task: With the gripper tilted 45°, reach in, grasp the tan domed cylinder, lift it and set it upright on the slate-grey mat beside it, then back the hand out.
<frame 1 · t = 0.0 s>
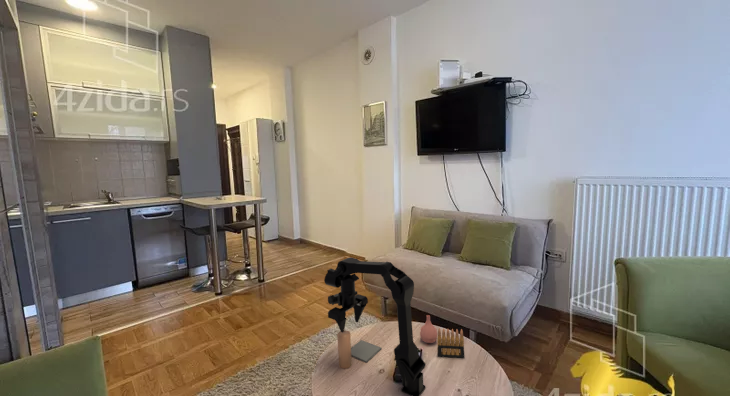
hand: (349, 327, 121), 15 cm above the table, tool pointing down, fingers open, 9 cm apart
tan domed cylinder: (345, 364, 121), on the table
ammunition clip: (450, 356, 123), on the table
pink bottle vase: (428, 341, 135), on the table
slate mat: (363, 351, 129), on the table
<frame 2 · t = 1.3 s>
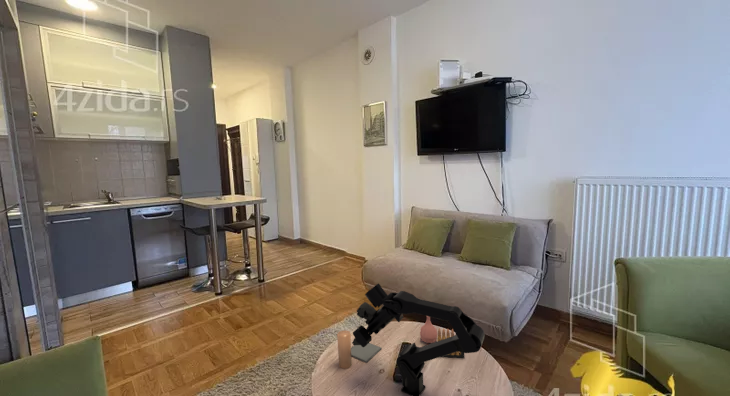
hand: (359, 337, 116), 13 cm above the table, tool tilted 45°, fingers open, 9 cm apart
nothing on the table moved.
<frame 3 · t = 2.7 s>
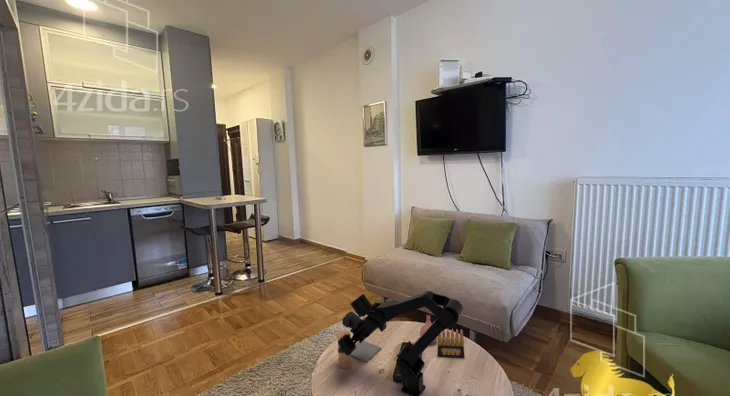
hand: (345, 345, 120), 8 cm above the table, tool tilted 45°, fingers open, 9 cm apart
nothing on the table moved.
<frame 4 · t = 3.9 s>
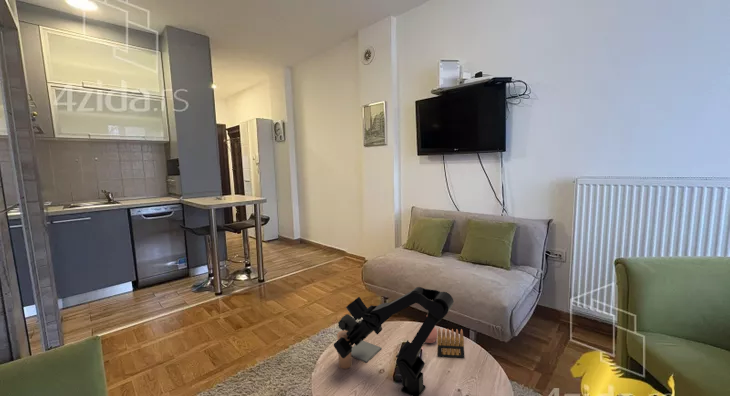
hand: (341, 348, 121), 7 cm above the table, tool tilted 45°, fingers closed on tan domed cylinder, 5 cm apart
tan domed cylinder: (345, 364, 121), on the table, touching gripper
everything else where it was.
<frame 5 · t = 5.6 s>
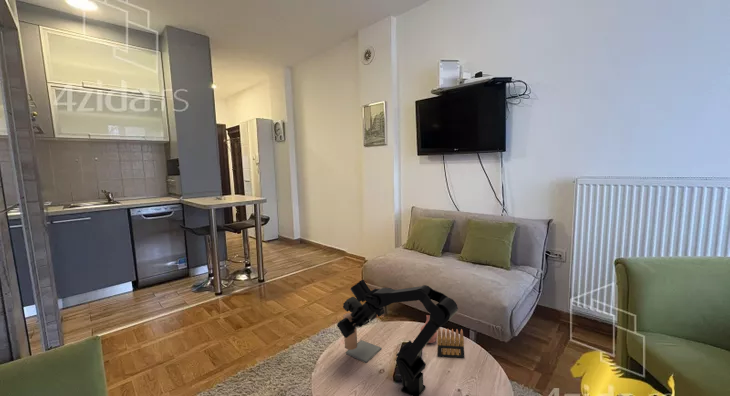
hand: (347, 329, 124), 12 cm above the table, tool tilted 45°, fingers closed on tan domed cylinder, 5 cm apart
tan domed cylinder: (351, 345, 124), point 6 cm above the table, touching gripper
everything else where it was.
when the fingers open (8 cm above the table, at t = 7.5 s): tan domed cylinder stays where it is, resting on slate mat.
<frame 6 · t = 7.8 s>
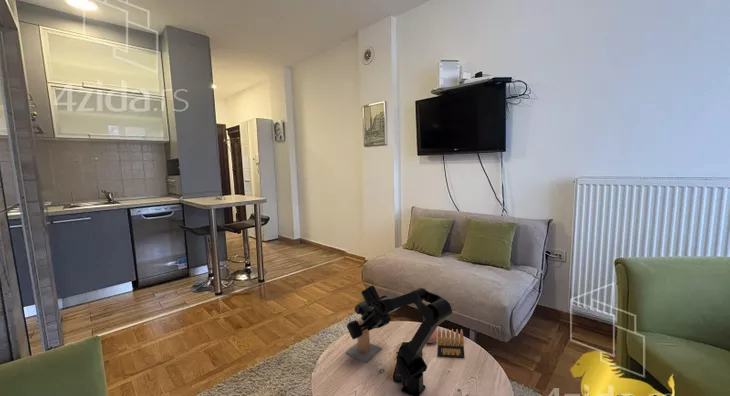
hand: (361, 331, 129), 9 cm above the table, tool tilted 45°, fingers open, 8 cm apart
tan domed cylinder: (363, 349, 129), point 1 cm above the table, touching slate mat
everything else where it was.
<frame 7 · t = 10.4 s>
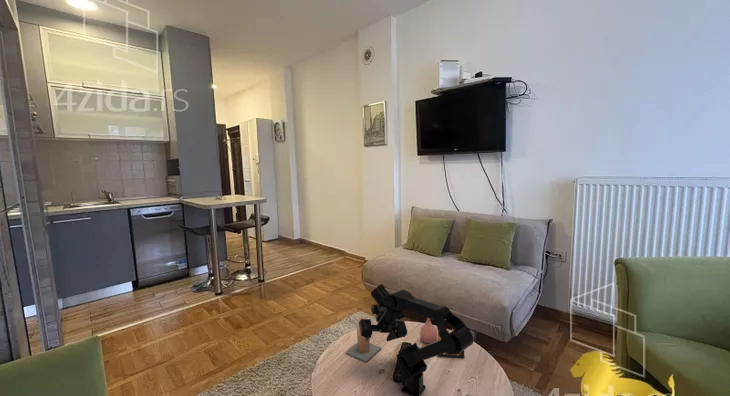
hand: (376, 340, 120), 10 cm above the table, tool tilted 30°, fingers open, 9 cm apart
nothing on the table moved.
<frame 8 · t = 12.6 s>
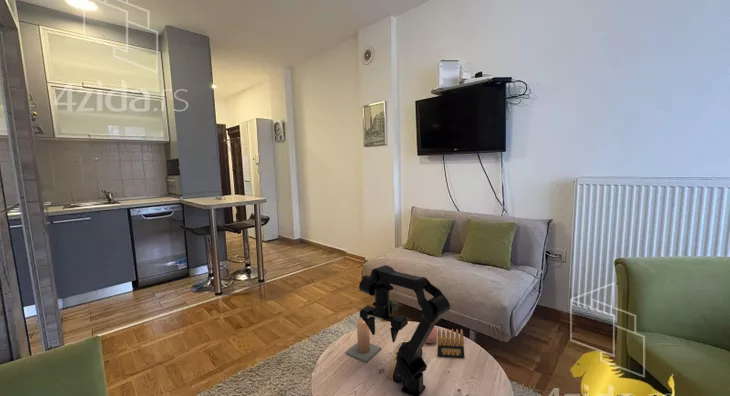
hand: (383, 338, 115), 13 cm above the table, tool pointing down, fingers open, 9 cm apart
nothing on the table moved.
at the end: tan domed cylinder inside the target area on the slate mat (0.1 cm from its centre), point 0.8 cm above the slate mat's base; tan domed cylinder tilted 1°; the gripper is holding nothing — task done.
